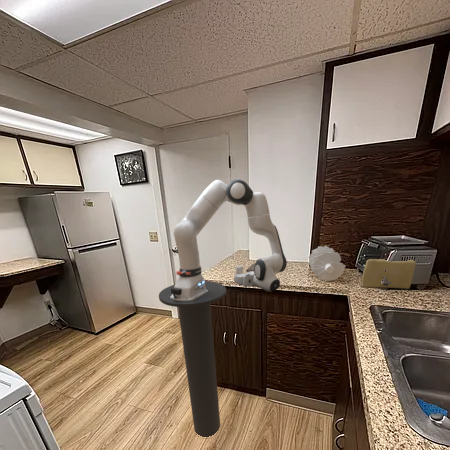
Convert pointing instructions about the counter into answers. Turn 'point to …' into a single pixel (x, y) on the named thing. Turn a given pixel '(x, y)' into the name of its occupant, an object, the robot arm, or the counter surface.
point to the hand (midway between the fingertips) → (242, 273)
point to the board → (251, 268)
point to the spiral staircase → (326, 263)
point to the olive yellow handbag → (388, 273)
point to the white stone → (239, 269)
